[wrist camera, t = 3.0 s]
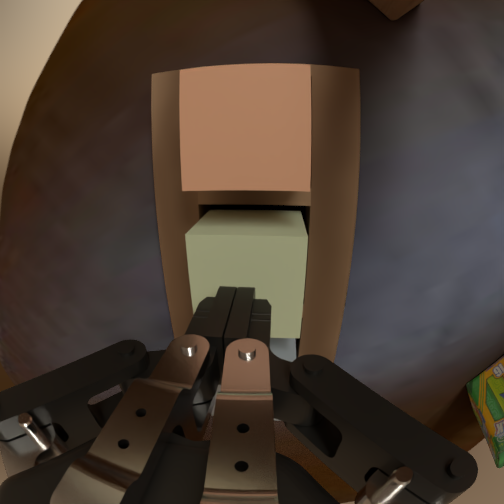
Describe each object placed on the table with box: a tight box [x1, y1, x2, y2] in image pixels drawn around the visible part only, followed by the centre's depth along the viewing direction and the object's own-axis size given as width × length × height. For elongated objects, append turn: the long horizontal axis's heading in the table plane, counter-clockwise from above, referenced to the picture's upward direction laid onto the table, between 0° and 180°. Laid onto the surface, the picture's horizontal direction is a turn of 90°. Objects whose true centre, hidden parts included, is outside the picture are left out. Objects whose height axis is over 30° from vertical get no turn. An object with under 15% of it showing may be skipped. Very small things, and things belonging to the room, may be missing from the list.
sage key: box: [185, 210, 308, 338], centre depth 16 cm, size 6×6×5 cm
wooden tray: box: [151, 63, 360, 363], centre depth 19 cm, size 12×23×3 cm, turn 0°
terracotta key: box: [179, 64, 311, 192], centre depth 13 cm, size 6×6×5 cm
